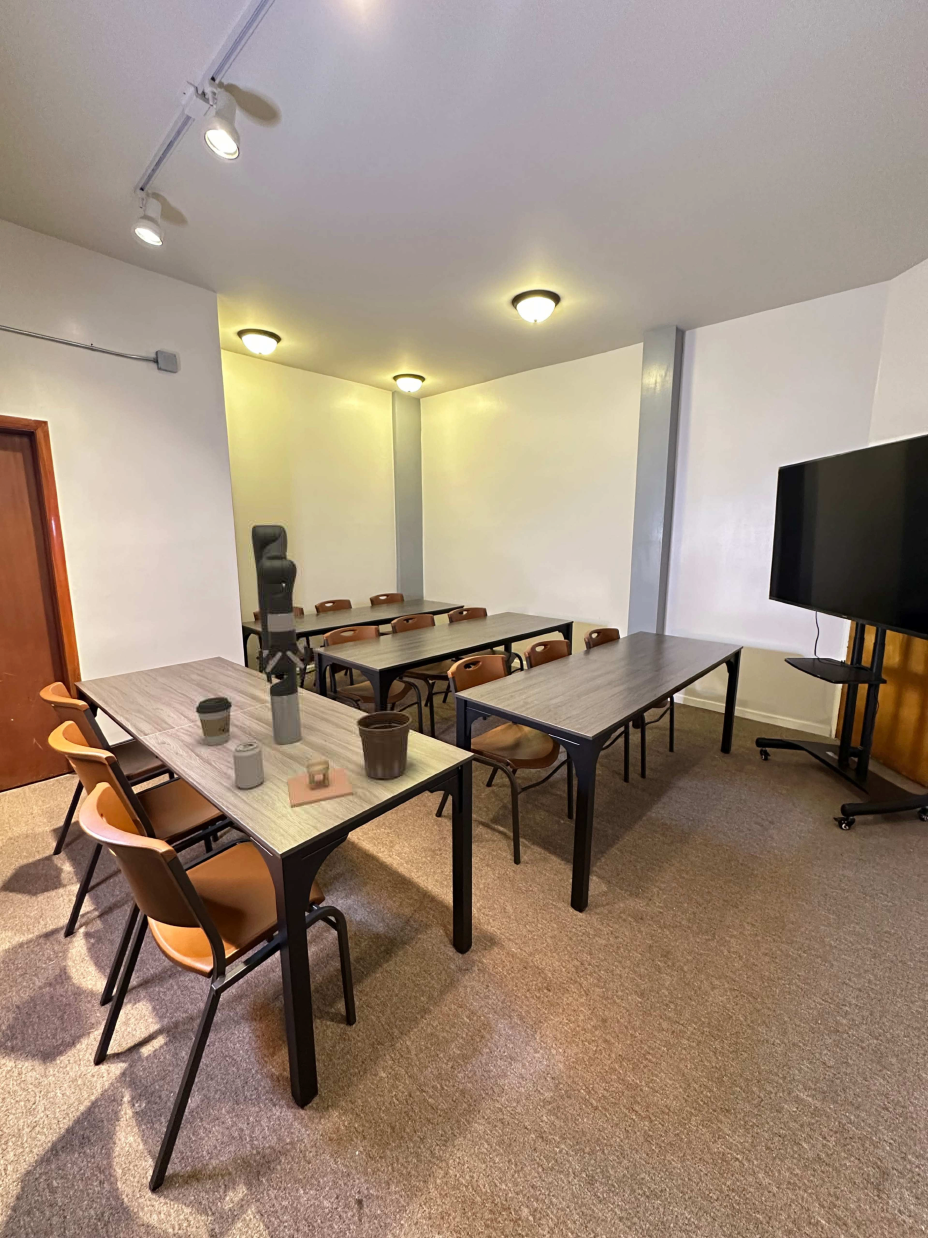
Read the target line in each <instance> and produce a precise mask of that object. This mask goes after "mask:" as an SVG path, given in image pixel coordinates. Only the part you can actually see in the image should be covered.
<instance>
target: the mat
mask: <svg viewBox="0 0 928 1238" xmlns="http://www.w3.org/2000/svg"><path fill="white" fill-rule="evenodd" d="M328 774H329V787H325V781H323V774H320V775H314V778H315V790H311V786H310V784H309V774H308V773H307V774H305V775H299V776H295V777H294V776H293V777H287V786H288V792H289V801H290V808H297V807H300V806H305V805H309V804H315V803H319V802H324V801H328V800H332V799H333V800H334V799H338V798H343V797H348V796H351V795H353V794H354V791H353V789H352V786H351V784H350V782H349V779H348V777H347V773H346V772H345V768H344V767H340V768H334V769H329V770H328Z"/></svg>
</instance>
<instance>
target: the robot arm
mask: <svg viewBox="0 0 928 1238" xmlns="http://www.w3.org/2000/svg"><path fill="white" fill-rule="evenodd" d="M251 542H252V543H251V544H252V550H253V556H254V565H255V571H256V584H257V585H256V586H257V601H258V612H259V613H258V614H259V618H260V627H261V648H260V649H258V670H259V671H260V672H264V674H265V675H266V682H267V683H269V685H270V687H269V698H270V707H271V709H270V710H271V719H272V721H271V722H272V733H273V741H274V743H275V744H277V745H289V744H293V743H297V742H299V741H300V740H301V739H302V726H301V725H302V724H301V714H300V713H301V711H300V699H299V687H298V677H297V676H298V675H299V680H300V681H303V679H305V677H306V674H305V667H307V666H310V665H311V657H310V651H309V647H308V645H307V644H303V645H300V646H298V642H297V631H296V620H295V614H294V604H293V603H294V602H293V600H294V599H293V595H294V588H295V582H296V578H297V571H298V568H297V565H296V563H295V562H294V561H293V560H292V559H289V558H288V556H287V551H288V535H287V531H286V528H285V527H284V526H283V525H279V524H255V525H253V526H252V528H251ZM299 651H300V652H301V653H302V654H303V656H304V661H302V660H301V659H300V658H299V657H298V656H297V654H298V652H299ZM297 665H298V668H297ZM297 669H298V672H297ZM297 673H299V674H298V675H297ZM278 675H286V676H285V677H284V678H282V679H281V680H278V681H277V682H275V683H273V678H272V677H273V676H278Z"/></svg>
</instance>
